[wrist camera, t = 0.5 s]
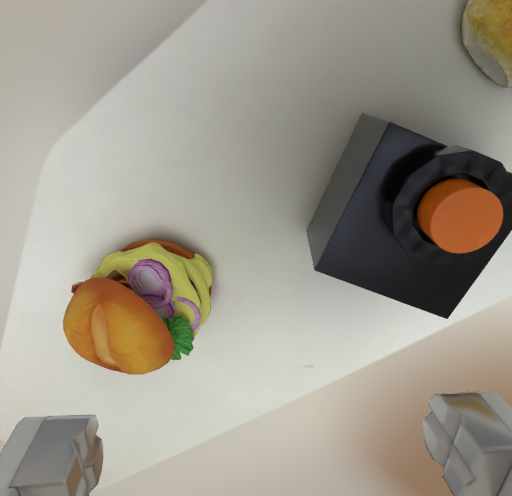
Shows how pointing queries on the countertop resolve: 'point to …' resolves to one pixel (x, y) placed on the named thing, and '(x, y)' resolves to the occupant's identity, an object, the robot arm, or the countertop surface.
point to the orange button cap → (460, 215)
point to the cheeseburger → (140, 307)
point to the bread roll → (490, 37)
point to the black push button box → (400, 217)
